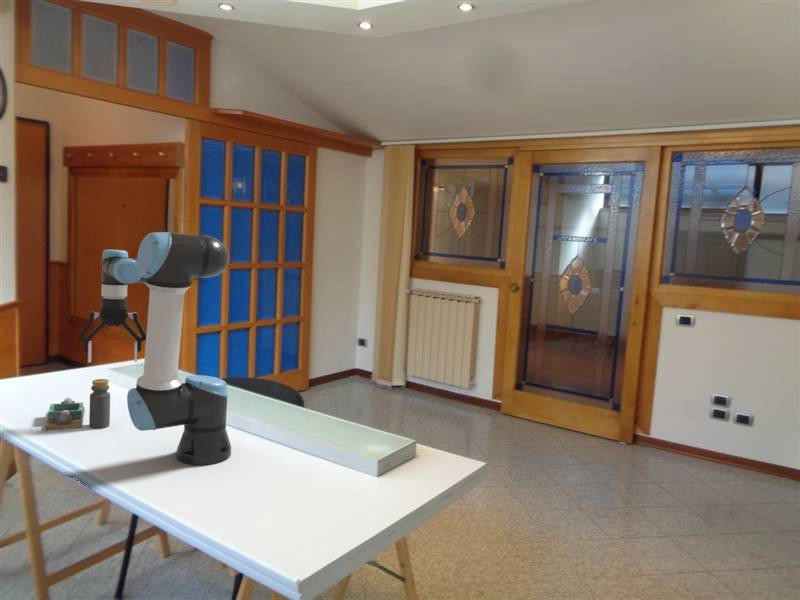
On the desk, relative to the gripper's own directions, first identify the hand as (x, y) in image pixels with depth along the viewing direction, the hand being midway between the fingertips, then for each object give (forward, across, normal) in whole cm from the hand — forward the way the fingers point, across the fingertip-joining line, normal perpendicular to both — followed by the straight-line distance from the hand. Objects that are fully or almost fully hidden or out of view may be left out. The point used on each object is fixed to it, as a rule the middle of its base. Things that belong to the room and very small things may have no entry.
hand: (112, 361), depth 192 cm
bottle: (+21, +3, +4) cm, 21 cm away
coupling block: (+20, +14, -5) cm, 25 cm away
